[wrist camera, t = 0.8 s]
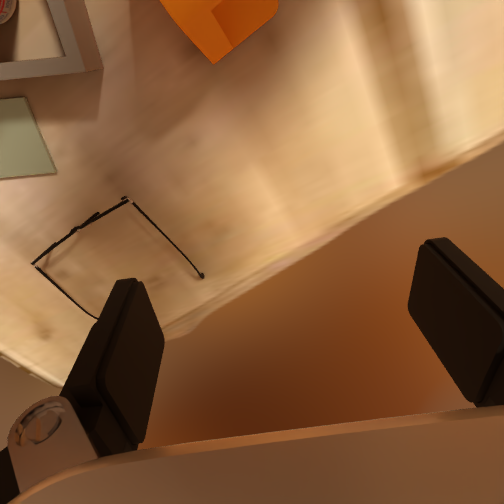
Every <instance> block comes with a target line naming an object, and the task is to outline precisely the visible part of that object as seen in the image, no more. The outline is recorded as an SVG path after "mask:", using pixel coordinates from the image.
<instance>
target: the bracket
mask: <svg viewBox="0 0 504 504" xmlns="http://www.w3.org/2000/svg"><path fill="white" fill-rule="evenodd" d="M160 2H161V3H162V5H163V6H164V8H165V9H166V10H167V12H168V13H169V14H170V16H171V17H172V19H173V20H174V21H175V22H176V24H177V25H178V26H179V27H180V29H181V30H182V31H183V32H184V33H185V34H186V35H187V36H188V37H189V39H190V40H191V41H192V42H193V43H194V44H195V45H196V46H197V47H198V48H199V49H200V51H201V52H202V53H203V54H204V55H205V56H206V57H207V58H208V59H209V60H210V61H211V63H212V64H213V65H214V64H215V63H216V62H218V61H219V60H220V59H221V58H222V57H224V56H225V55H226V54H227V53H229V52H230V51H231V50H232V49H234V48H235V47H236V46H237V45H239V44H240V43H241V42H242V41H244V40H245V39H246V38H247V37H248V36H250V35H251V34H252V33H253V32H255V31H256V30H257V29H258V28H260V27H261V26H262V25H263V24H265V23H266V22H267V21H268V20H269V19H271V18H272V17H273V16H274V15H275V14H276V12H277V10H278V0H160Z"/></svg>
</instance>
